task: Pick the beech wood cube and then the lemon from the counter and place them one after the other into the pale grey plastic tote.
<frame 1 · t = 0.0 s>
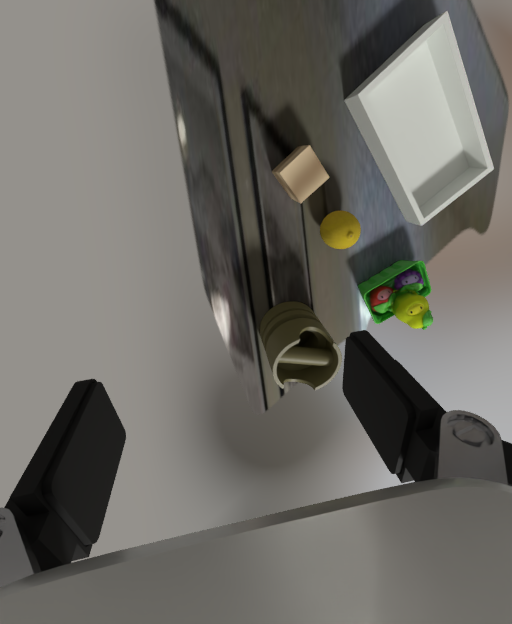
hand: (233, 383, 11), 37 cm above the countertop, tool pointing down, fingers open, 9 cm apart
fruit basket: (382, 284, 55), on the countertop
piston: (287, 326, 56), on the countertop
lemon: (328, 224, 47), on the countertop
cube: (294, 173, 43), on the countertop
tote: (413, 137, 43), on the countertop
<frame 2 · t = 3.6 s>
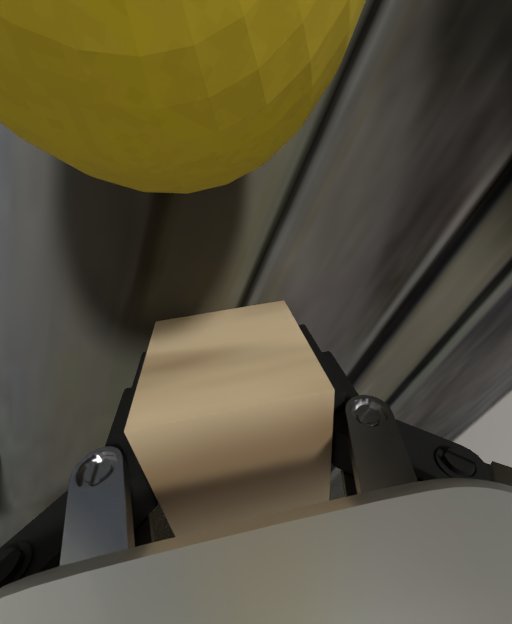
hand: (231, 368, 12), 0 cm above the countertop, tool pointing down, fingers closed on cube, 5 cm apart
lemon: (176, 63, 8), on the countertop
cube: (230, 361, 12), on the countertop, touching gripper
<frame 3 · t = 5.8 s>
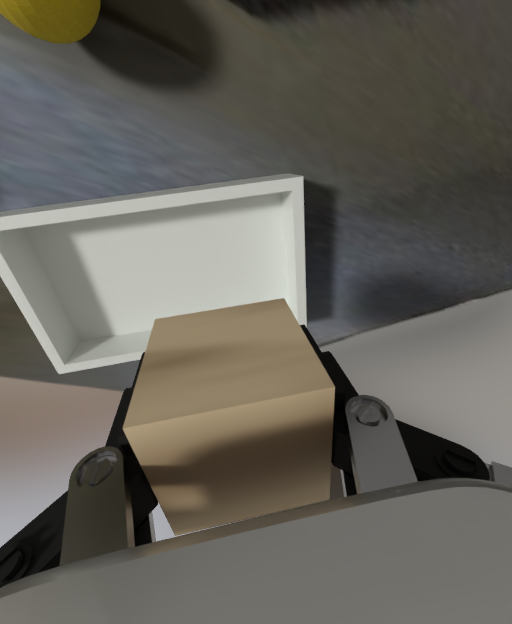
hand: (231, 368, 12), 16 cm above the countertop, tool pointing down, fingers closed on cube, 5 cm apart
lemon: (68, 1, 17), on the countertop
cube: (230, 359, 12), point 15 cm above the countertop, touching gripper
tote: (173, 267, 25), on the countertop
when the fingers open (4 cm above the countertop, at t = 8.1 s): cube drops 3 cm, resting on tote.
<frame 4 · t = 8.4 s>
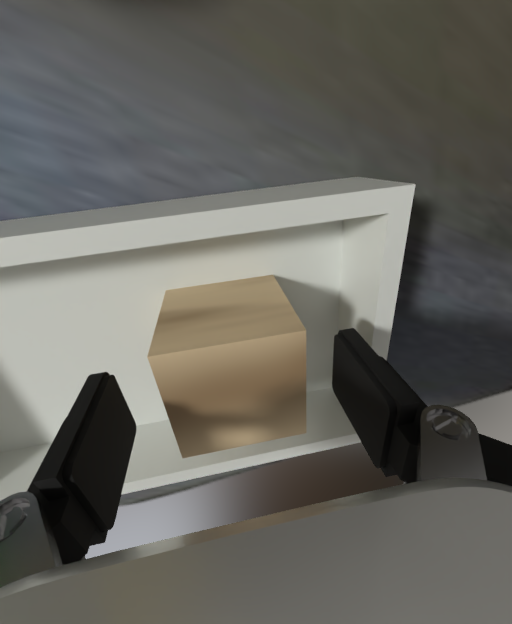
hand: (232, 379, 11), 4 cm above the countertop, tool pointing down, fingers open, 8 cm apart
cube: (227, 327, 14), point 1 cm above the countertop, touching tote
tote: (147, 336, 15), on the countertop
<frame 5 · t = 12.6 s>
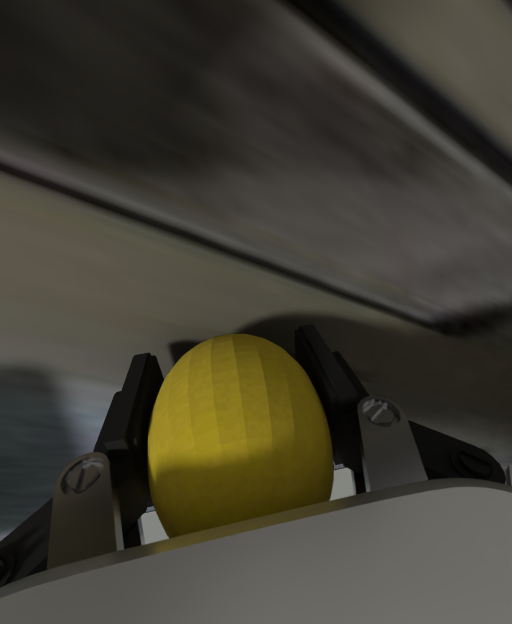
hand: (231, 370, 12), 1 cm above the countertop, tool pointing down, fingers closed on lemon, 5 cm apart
lemon: (229, 350, 13), on the countertop, touching gripper
tote: (288, 530, 21), on the countertop
when the fingers open (4 cm above the countertop, at t = 17.0 s): lemon drops 2 cm, resting on tote.
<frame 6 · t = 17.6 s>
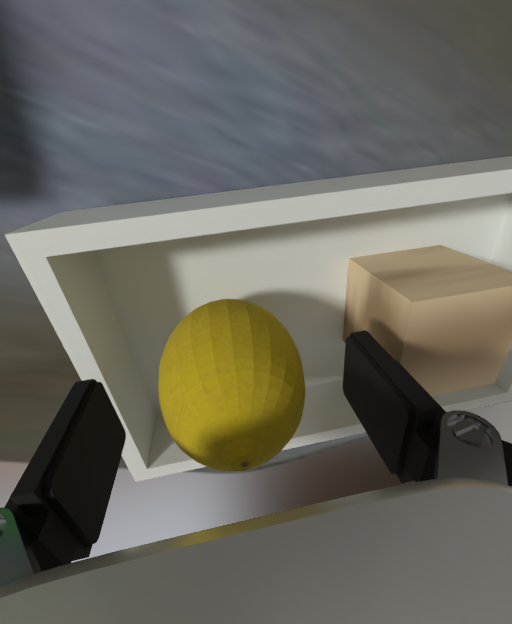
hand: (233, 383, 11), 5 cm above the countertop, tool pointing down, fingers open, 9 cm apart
lemon: (225, 321, 15), resting on tote
cube: (388, 295, 16), point 1 cm above the countertop, touching tote
tote: (313, 303, 16), on the countertop
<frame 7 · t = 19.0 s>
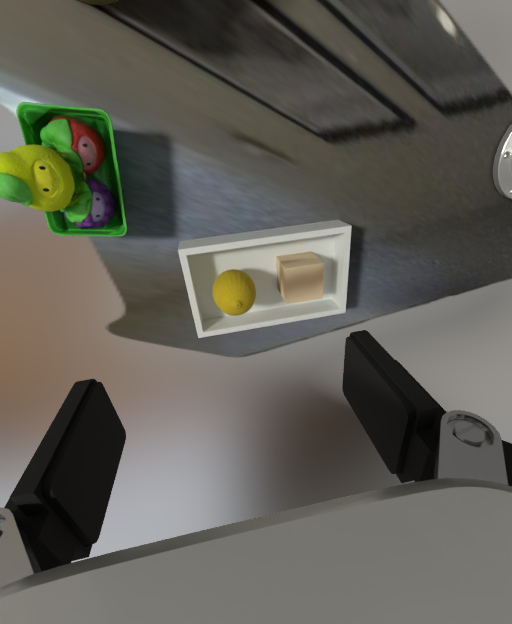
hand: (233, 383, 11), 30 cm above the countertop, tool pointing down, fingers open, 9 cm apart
fruit basket: (89, 174, 32), on the countertop
lemon: (231, 280, 40), resting on tote
cube: (293, 270, 41), point 1 cm above the countertop, touching tote
tote: (265, 274, 41), on the countertop
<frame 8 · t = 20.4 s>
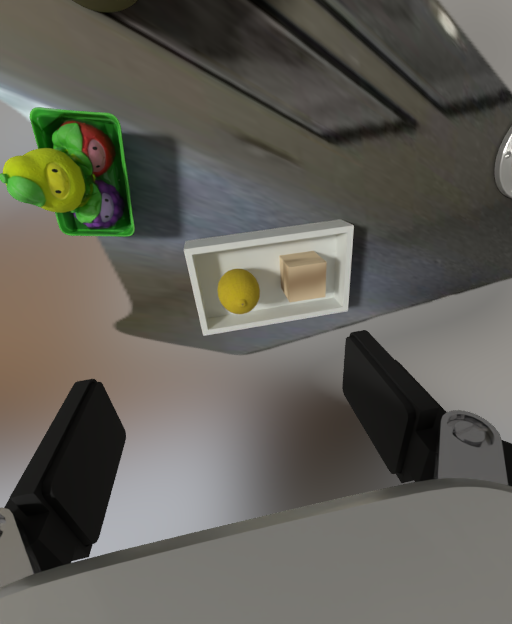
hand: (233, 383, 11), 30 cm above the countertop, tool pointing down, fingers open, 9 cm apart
fruit basket: (98, 175, 33), on the countertop
lemon: (235, 278, 41), resting on tote
cube: (296, 269, 42), point 1 cm above the countertop, touching tote
tote: (268, 273, 42), on the countertop
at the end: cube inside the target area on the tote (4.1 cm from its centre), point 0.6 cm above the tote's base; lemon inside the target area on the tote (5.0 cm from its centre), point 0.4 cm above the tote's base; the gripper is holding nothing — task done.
